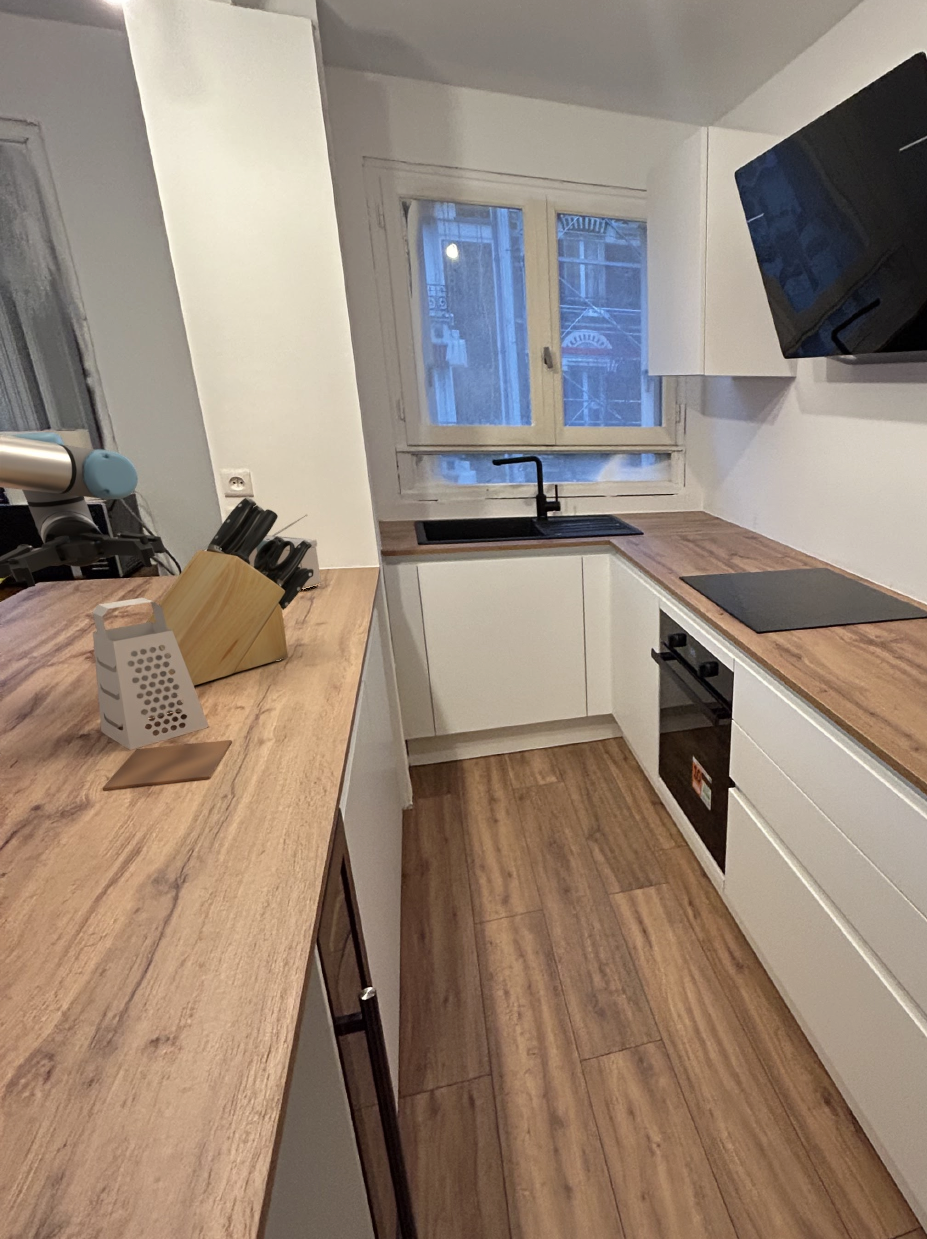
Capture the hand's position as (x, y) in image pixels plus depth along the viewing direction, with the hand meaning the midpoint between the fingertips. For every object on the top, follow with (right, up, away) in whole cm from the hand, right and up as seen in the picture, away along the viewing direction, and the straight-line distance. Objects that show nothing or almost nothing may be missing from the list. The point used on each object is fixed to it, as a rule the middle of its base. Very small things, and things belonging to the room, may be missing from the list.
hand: (89, 567), depth 104 cm
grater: (+4, -24, +8) cm, 26 cm away
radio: (-27, +8, +98) cm, 102 cm away
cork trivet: (+14, -28, -3) cm, 31 cm away
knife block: (-2, -14, +35) cm, 38 cm away
